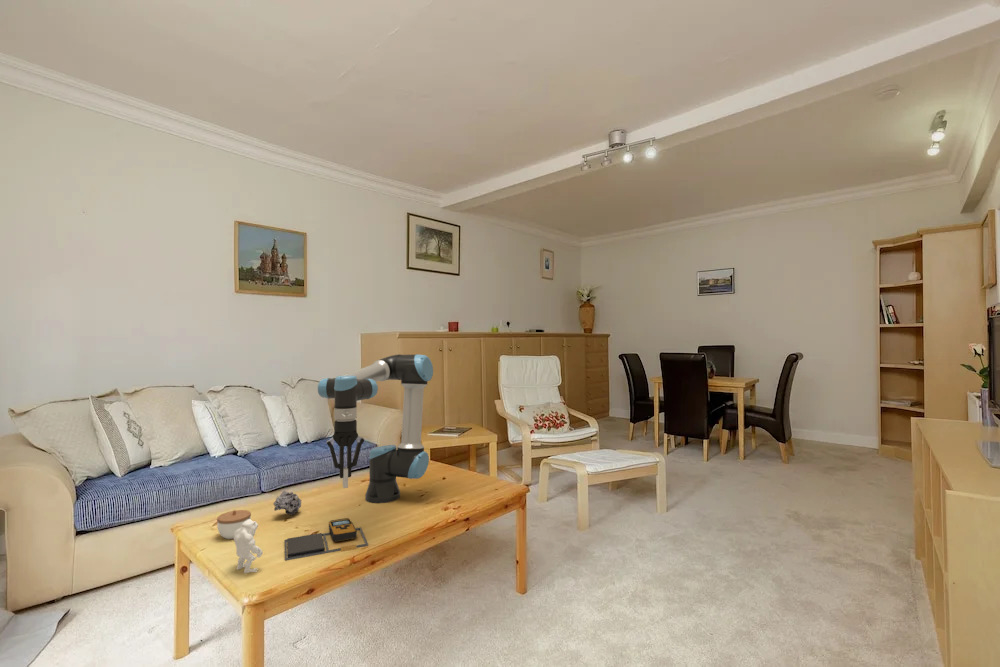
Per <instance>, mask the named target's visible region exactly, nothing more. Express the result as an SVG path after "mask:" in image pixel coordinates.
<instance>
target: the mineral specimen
mask: <svg viewBox="0 0 1000 667" xmlns="http://www.w3.org/2000/svg"><path fill="white" fill-rule="evenodd" d="M273 506H274V511H277V510H279V511H281V510H284V511H285V514H287V515H290V516H294V515H295V514H296V513H298V512H299V510H300V508H301V507H302V499H300V498H299V495H298V494H296V493H294V492H292V491H290V492H289V491H286V490H283V491H282V492H281V493H280V495H278V496H277V497H276V498H275V501H274V502H273Z"/></svg>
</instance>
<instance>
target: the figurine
mask: <svg viewBox="0 0 1000 667" xmlns="http://www.w3.org/2000/svg"><path fill="white" fill-rule="evenodd" d="M258 527H259V524H258V522H257V521H256V520H254V521H253V520H252V519H251V518H250V519H248V520H247V521H245V522H243V523H242V527H241V528H239V529H237V530H236V531H235V532H234V539H233V540H234V541H233V542H234V544H235V549H236V556H237V557H239V558H238V559H237V566H236V570H241V569H243V568H244V571H243V574H248V573H257V572H258V570H259V568H257V567H255V568H251V565H252V563H253V561H255V560H257V558H261V557H262V555H263V550H262V549H261V547H259V546H258V545H256V540H255V538H254V536H255V535H256V530H257V529H258ZM254 554H255V555H256V556H255V555H254ZM245 561H246V562H245Z"/></svg>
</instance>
